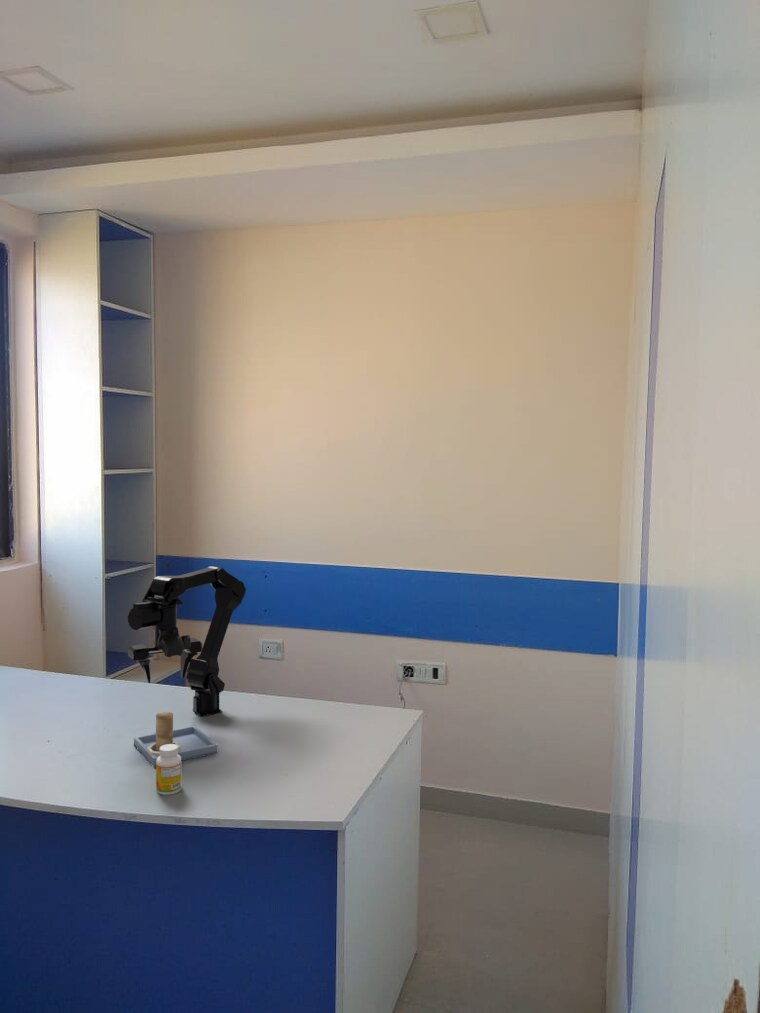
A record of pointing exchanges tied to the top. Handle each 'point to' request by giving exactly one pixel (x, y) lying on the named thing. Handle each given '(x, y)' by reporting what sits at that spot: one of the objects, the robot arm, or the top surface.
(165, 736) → the peg
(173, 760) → the supplement bottle
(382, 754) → the top surface
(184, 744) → the tray
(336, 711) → the top surface
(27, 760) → the top surface
